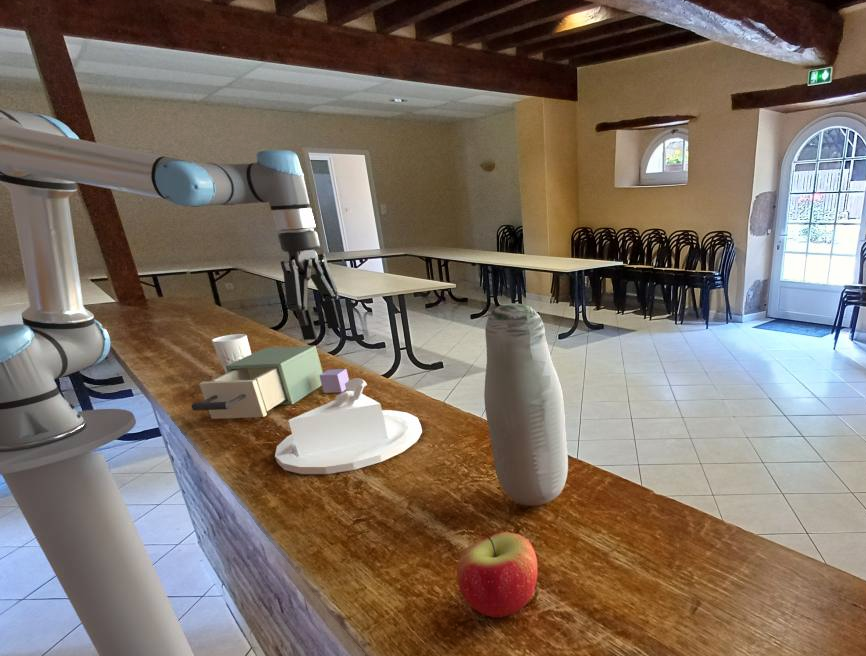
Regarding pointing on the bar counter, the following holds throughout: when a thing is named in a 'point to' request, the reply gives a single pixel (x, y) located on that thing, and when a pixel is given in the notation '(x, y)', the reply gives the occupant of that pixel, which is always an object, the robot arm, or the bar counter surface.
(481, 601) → the apple
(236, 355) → the white cup
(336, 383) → the purple cube
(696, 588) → the bar counter surface
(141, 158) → the robot arm
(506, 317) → the grey rounded column
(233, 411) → the drawer
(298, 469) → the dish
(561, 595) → the bar counter surface
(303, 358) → the cabinet
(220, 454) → the bar counter surface
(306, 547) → the bar counter surface
